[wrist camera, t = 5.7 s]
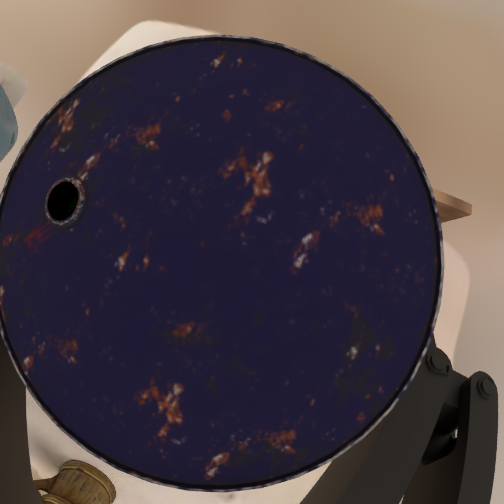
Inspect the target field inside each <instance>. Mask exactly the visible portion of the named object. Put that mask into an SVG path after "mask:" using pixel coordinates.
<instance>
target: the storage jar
mask: <svg viewBox="0 0 504 504" xmlns="http://www.w3.org/2000/svg"><path fill="white" fill-rule="evenodd" d="M443 277H444V250H443V237H442V227H441V222H440V218H439V213H438V209H437V205H436V201H435V197H434V193H433V190H432V187H431V185H430V183H429V180H428V178H427V175H426V173H425V170H424V168H423V166H422V164H421V161H420V159H419V157H418V155H417V153H416V152H415V150H414V148H413V147H412V145H411V144H410V142H409V141H408V139H407V137H406V136H405V134H404V133H403V131H402V130H401V128H400V126H399V125H398V124H397V123H396V122H395V120H394V119H393V118H392V117H391V116H390V114H389V113H388V112H387V111H386V110H385V109H384V108H383V107H382V105H381V104H380V103H379V102H377V100H376V99H375V98H374V97H373V96H372V95H371V94H369V93H368V92H367V91H366V90H365V89H363V88H362V87H361V86H360V85H359V84H357V83H356V82H355V81H354V80H352V79H351V78H350V77H349V76H347V75H346V74H344V73H342V72H341V71H339V70H337V69H336V68H334V67H332V66H331V65H329V64H327V63H326V62H324V61H322V60H320V59H319V58H317V57H314V56H312V55H310V54H307V53H305V52H302V51H300V50H297V49H295V48H292V47H289V46H287V45H283V44H280V43H276V42H272V41H267V40H262V39H258V38H253V37H245V36H232V35H204V36H192V37H183V38H178V39H173V40H169V41H165V42H161V43H157V44H153V45H149V46H146V47H144V48H141V49H139V50H136V51H134V52H131V53H129V54H126V55H124V56H122V57H119V58H117V59H115V60H114V61H112V62H110V63H108V64H107V65H105V66H103V67H101V68H100V69H98V70H96V71H95V72H93V73H92V74H90V75H89V76H87V77H86V78H85V79H83V80H82V81H81V82H80V83H78V84H77V85H76V86H75V87H73V88H72V89H71V90H70V91H69V92H67V93H66V94H65V95H64V96H63V97H62V98H61V99H60V100H59V101H58V102H57V103H56V104H55V105H54V106H53V107H52V108H51V109H50V111H49V112H48V113H47V114H46V115H45V116H44V117H43V118H42V119H41V121H40V122H39V123H38V125H37V126H36V127H35V129H34V130H33V132H32V133H31V135H30V136H29V138H28V140H27V141H26V142H25V144H24V145H23V147H22V148H21V150H20V152H19V154H18V156H17V158H16V160H15V162H14V164H13V166H12V168H11V170H10V172H9V175H8V177H7V179H6V182H5V185H4V188H3V191H2V194H1V197H0V331H1V335H2V338H3V341H4V344H5V346H6V348H7V351H8V353H9V355H10V358H11V360H12V362H13V364H14V366H15V369H16V371H17V373H18V374H19V376H20V378H21V379H22V381H23V383H24V384H25V386H26V387H27V389H28V390H29V392H30V394H31V395H32V397H33V398H34V400H35V401H36V402H37V404H38V405H39V406H40V407H41V408H42V410H43V411H44V412H45V413H46V414H47V415H48V416H49V418H50V419H51V420H52V421H53V422H54V423H55V424H56V425H57V426H58V427H59V429H61V430H62V431H63V432H64V433H65V434H66V435H68V436H69V437H70V438H71V439H72V440H74V441H75V442H76V443H77V444H78V445H80V446H81V447H82V448H83V449H85V450H86V451H87V452H89V453H91V454H92V455H94V456H95V457H97V458H99V459H100V460H102V461H104V462H105V463H107V464H109V465H111V466H112V467H114V468H116V469H118V470H120V471H123V472H125V473H127V474H130V475H132V476H135V477H137V478H140V479H143V480H145V481H148V482H151V483H155V484H159V485H163V486H168V487H172V488H177V489H182V490H188V491H203V492H233V491H242V490H250V489H257V488H263V487H267V486H271V485H274V484H278V483H281V482H284V481H288V480H291V479H294V478H297V477H300V476H302V475H304V474H306V473H308V472H310V471H313V470H315V469H317V468H319V467H321V466H323V465H325V464H327V463H329V462H331V461H332V460H334V459H335V458H337V457H338V456H340V455H341V454H343V453H344V452H345V451H347V450H348V449H350V448H351V447H352V446H354V445H355V444H356V443H358V442H359V441H360V440H362V439H363V438H364V437H365V436H366V435H367V434H368V433H369V432H371V431H372V430H373V429H374V428H375V427H376V426H377V425H378V423H379V422H380V421H381V420H382V419H383V418H384V417H385V416H386V415H387V414H388V413H389V412H390V411H391V410H392V408H393V407H394V406H395V404H396V403H397V402H398V400H399V399H400V397H401V396H402V394H403V393H404V392H405V390H406V389H407V387H408V386H409V384H410V383H411V381H412V380H413V378H414V376H415V374H416V372H417V370H418V368H419V366H420V364H421V362H422V360H423V357H424V355H425V353H426V351H427V349H428V346H429V344H430V342H431V338H432V335H433V331H434V328H435V324H436V320H437V317H438V313H439V309H440V305H441V297H442V287H443Z"/></svg>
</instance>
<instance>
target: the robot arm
mask: <svg viewBox="0 0 504 504" xmlns="http://www.w3.org/2000/svg"><path fill="white" fill-rule="evenodd" d="M17 133H18V127H17V121H16V117H15V114H14V111H13V109H12V106H11V104H10V102H9V100H8V97H7V95H6V94H5V92H4V90H3V88H2V86H1V85H0V162H1V161H2V160H3V158H4V157H5V156H6V155H7V153H8V152H9V151H10V150H11V149H12V147H13V146H14V144H15V142H16V139H17ZM457 429H458V431H457V438H455V431H456V430H457ZM497 433H498V393H497V387H496V385H495V383H494V381H493V379H492V378H491V377H490V376H489V375H488V374H487V373H485V372H482V371H478V372H475V373H474V374H473V375H472V376H470V377H469V378H467V377H465V376H463V375H461V374H459V373H458V372H456V371H454V370H452V365H451V361H450V360H449V358H448V356H447V355H446V354H445V353H444V352H443V351H442V350H441V349H439V348H437V347H436V343H435V339H434V334H433V335H432V338H431V342H430V344H429V346H428V349H427V351H426V353H425V355H424V357H423V360H422V362H421V364H420V366H419V368H418V370H417V372H416V374H415V376H414V378H413V380H412V381H411V383H410V384H409V386H408V387H407V389H406V390H405V392H404V393H403V394H402V396H401V397H400V399H399V400H398V402H397V403H396V404H395V406H394V407H393V408H392V410H391V411H390V412H389V413H388V414H387V415H386V416H385V417H384V418H383V419H382V420H381V421H380V422H379V423H378V425H377V426H376V427H375V428H374V429H373V430H372V431H371V432H369V433H368V434H367V435H366V436H365V437H364V438H363V439H362V440H360V441H359V442H358V443H356V444H355V445H354V446H352V447H351V448H350V449H348V450H347V451H345V452H344V453H343V454H341V455H340V456H338V457H337V458H335V459H334V460H333V461H332V462H331V464H330V465H329V466H328V468H327V469H326V471H325V472H324V473H323V475H322V476H321V477H320V479H319V480H318V481H317V483H316V484H315V485H314V486H313V488H312V489H311V490H310V492H309V493H308V494H307V495H306V497H305V498H304V499H303V500H302V501H301V503H300V504H399V502H400V501H401V499H402V497H403V495H404V497H403V500H402V504H490V499H491V493H492V487H493V479H494V472H495V462H496V451H497ZM404 493H405V494H404ZM0 504H44V502H43V499H42V496H41V494H40V492H39V491H38V489H37V488H36V487H35V485H34V482H33V478H32V473H31V465H30V457H29V447H28V436H27V420H26V386H25V384H24V383H23V381H22V379H21V378H20V376H19V374H18V373H17V371H16V369H15V366H14V364H13V362H12V360H11V358H10V355H9V353H8V351H7V348H6V346H5V344H4V341H3V338H2V335H1V331H0Z"/></svg>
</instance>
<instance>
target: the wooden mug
mask: <svg viewBox="0 0 504 504" xmlns="http://www.w3.org/2000/svg"><path fill="white" fill-rule="evenodd" d="M33 482H34V485H35V487H36V488H37V489H38V490H43V491H45V492H47V493H48V494H46V495H43V496H42V499H43V502H44V504H112V503H113V501H114V500H115V497H116V492H115V488H114V486H113V485H112V483H111V481H110V480H109V479H108V478H107V477H106V476H105V475H104V474H103V473H102V472H101V471H99V470H98V469H96V468H94V467H93V466H91V465H88V464H86V463H83V462H80V461H69V462H66V463H65V464H63V465H62V466H61V468H60V470H59V472H58V474H57V475H56V476H54V477H52V478H48V479H41V480H34V481H33Z"/></svg>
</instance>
